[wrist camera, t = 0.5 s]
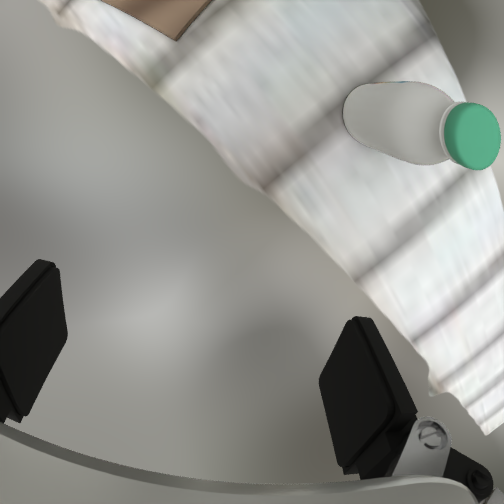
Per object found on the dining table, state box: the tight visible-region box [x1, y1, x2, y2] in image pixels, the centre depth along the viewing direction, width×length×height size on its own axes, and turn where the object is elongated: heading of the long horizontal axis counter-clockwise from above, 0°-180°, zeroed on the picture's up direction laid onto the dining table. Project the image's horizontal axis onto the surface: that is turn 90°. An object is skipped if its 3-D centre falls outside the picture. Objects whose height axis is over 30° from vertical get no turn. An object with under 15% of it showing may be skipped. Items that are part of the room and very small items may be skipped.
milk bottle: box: [343, 81, 501, 170], centre depth 25 cm, size 8×8×20 cm
